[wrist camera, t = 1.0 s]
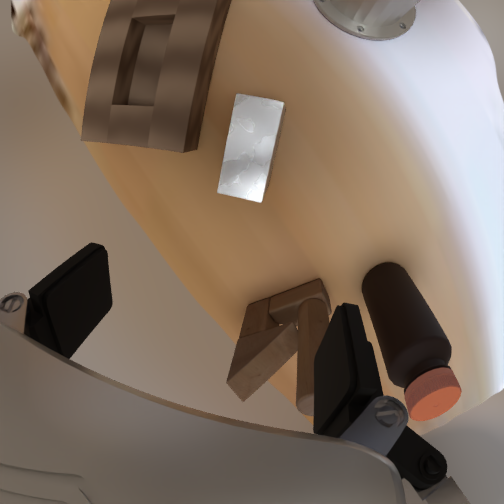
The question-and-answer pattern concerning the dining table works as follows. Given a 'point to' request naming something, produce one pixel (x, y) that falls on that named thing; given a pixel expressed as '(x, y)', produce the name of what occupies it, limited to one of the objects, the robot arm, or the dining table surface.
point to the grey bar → (251, 147)
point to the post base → (153, 73)
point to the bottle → (410, 342)
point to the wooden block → (281, 341)
